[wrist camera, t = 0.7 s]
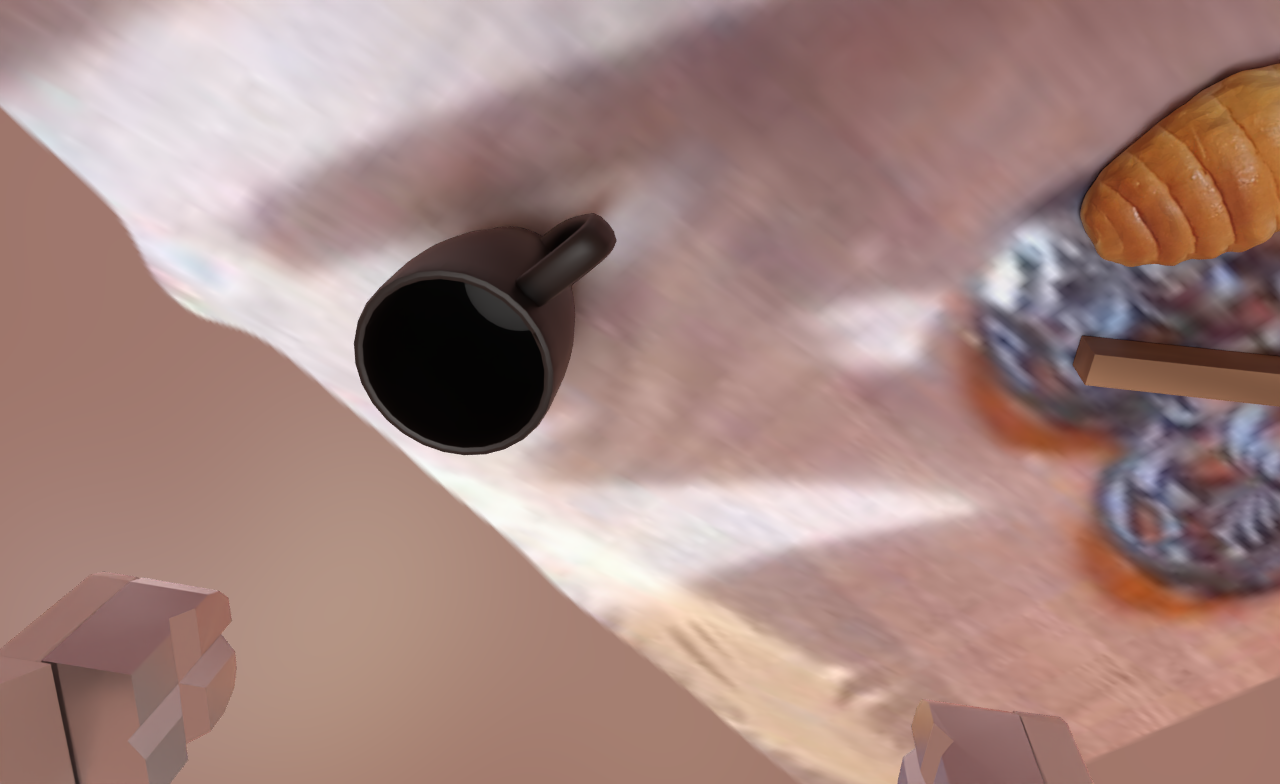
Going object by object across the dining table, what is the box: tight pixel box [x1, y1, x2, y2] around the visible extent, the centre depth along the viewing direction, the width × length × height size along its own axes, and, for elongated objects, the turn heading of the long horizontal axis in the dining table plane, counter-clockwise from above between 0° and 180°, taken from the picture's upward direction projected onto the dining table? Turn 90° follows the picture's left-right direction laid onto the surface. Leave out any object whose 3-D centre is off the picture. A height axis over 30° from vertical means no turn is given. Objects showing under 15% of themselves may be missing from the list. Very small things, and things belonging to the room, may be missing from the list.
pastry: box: [1080, 63, 1280, 267], centre depth 36 cm, size 9×7×4 cm
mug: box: [354, 213, 616, 455], centre depth 39 cm, size 8×12×10 cm
